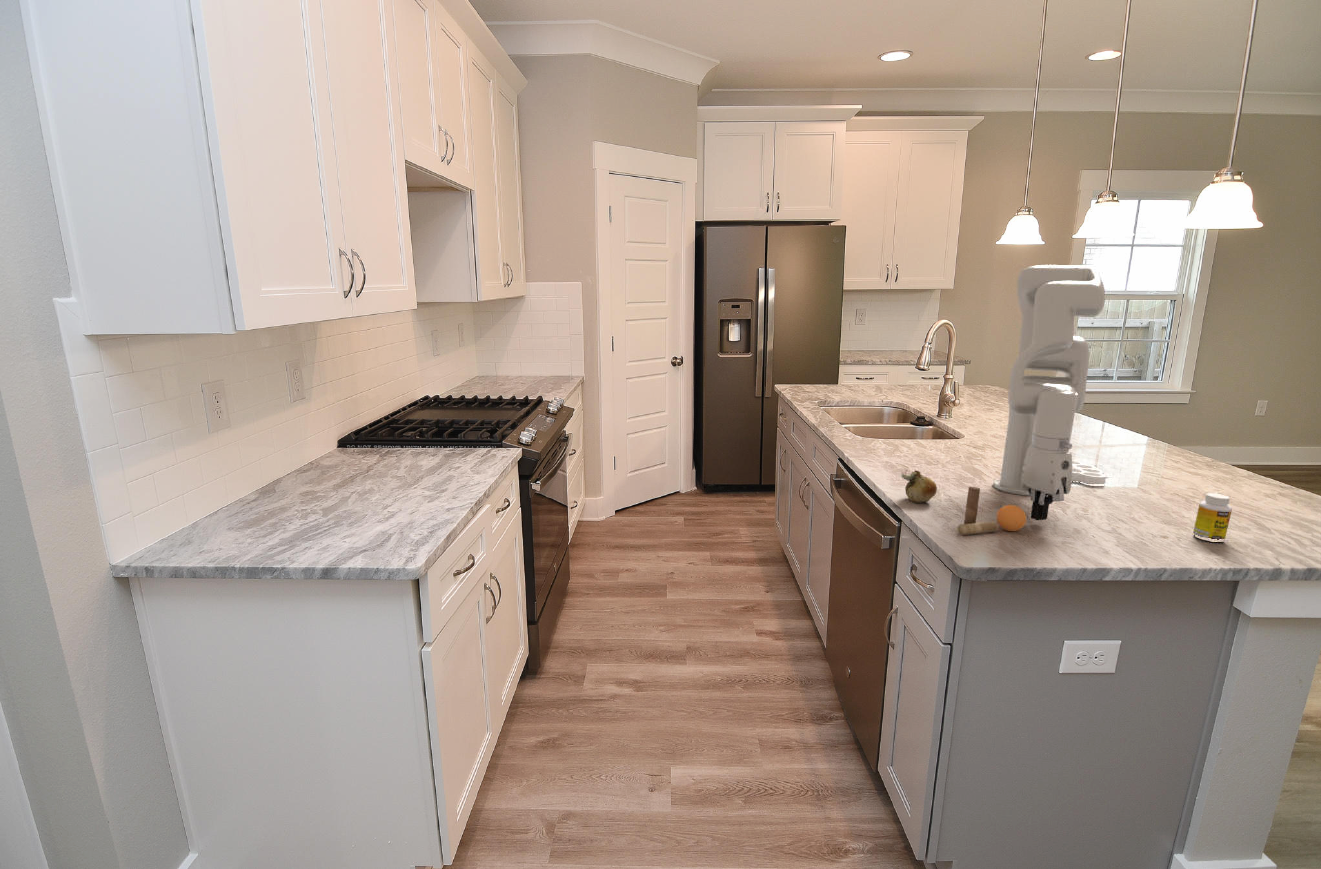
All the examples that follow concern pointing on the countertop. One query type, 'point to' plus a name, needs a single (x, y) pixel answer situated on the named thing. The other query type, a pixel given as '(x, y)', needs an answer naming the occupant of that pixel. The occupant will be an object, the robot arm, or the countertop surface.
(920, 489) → the onion
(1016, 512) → the ball
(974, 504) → the walnut pin
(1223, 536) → the supplement bottle
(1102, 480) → the white egg tray
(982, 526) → the maple pin
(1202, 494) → the countertop surface
